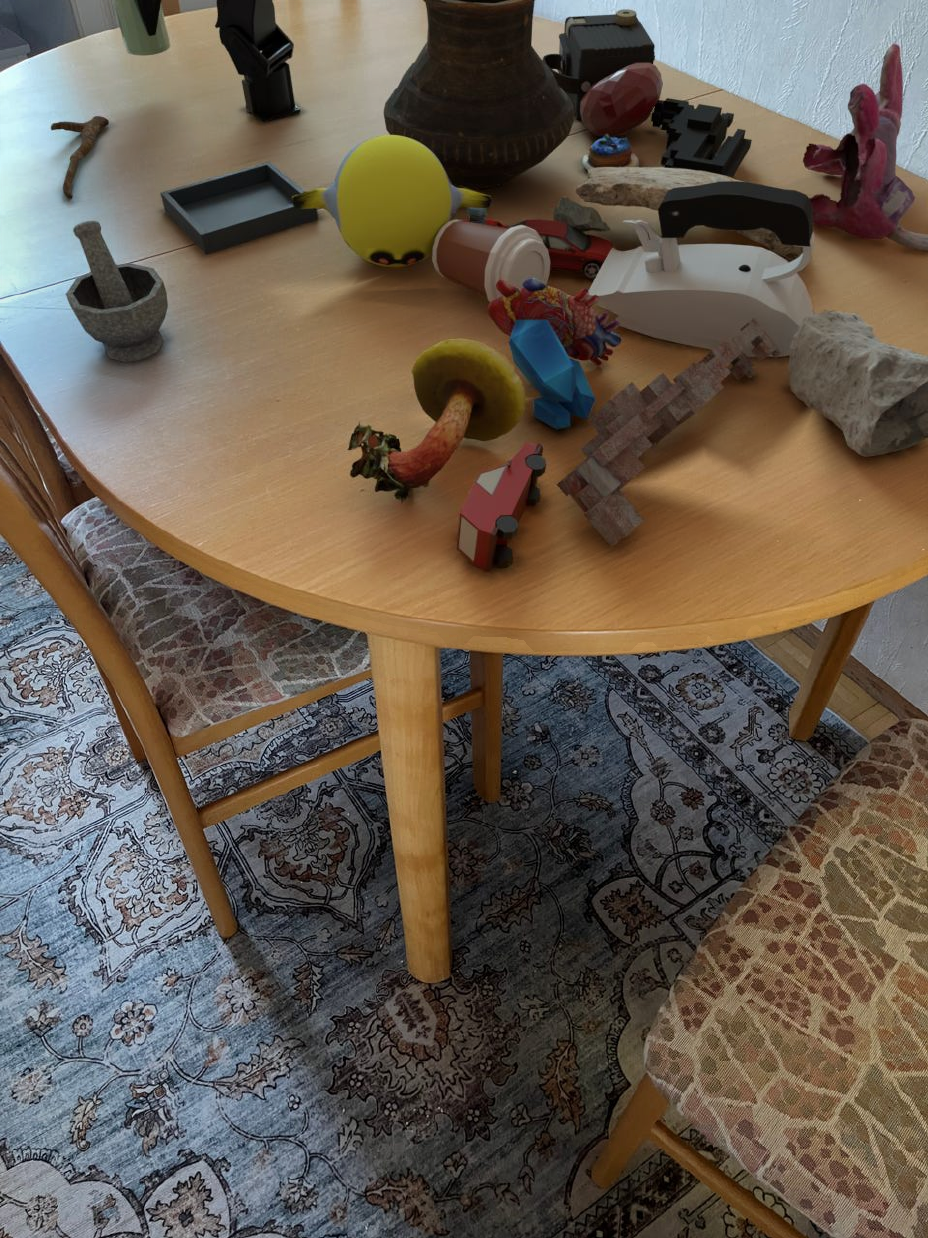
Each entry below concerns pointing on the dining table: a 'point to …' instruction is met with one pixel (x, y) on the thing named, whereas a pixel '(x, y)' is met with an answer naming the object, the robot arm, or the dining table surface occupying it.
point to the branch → (88, 138)
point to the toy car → (569, 246)
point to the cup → (140, 30)
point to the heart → (621, 100)
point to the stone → (579, 216)
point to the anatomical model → (557, 317)
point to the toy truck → (499, 508)
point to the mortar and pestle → (117, 300)
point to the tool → (699, 137)
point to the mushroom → (444, 414)
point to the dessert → (610, 154)
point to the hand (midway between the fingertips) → (143, 28)
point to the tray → (236, 207)
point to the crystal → (550, 373)
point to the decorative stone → (860, 382)
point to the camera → (597, 51)
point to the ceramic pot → (481, 93)
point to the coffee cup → (489, 256)
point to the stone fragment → (662, 194)
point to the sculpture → (650, 429)
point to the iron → (713, 268)
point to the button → (479, 216)
